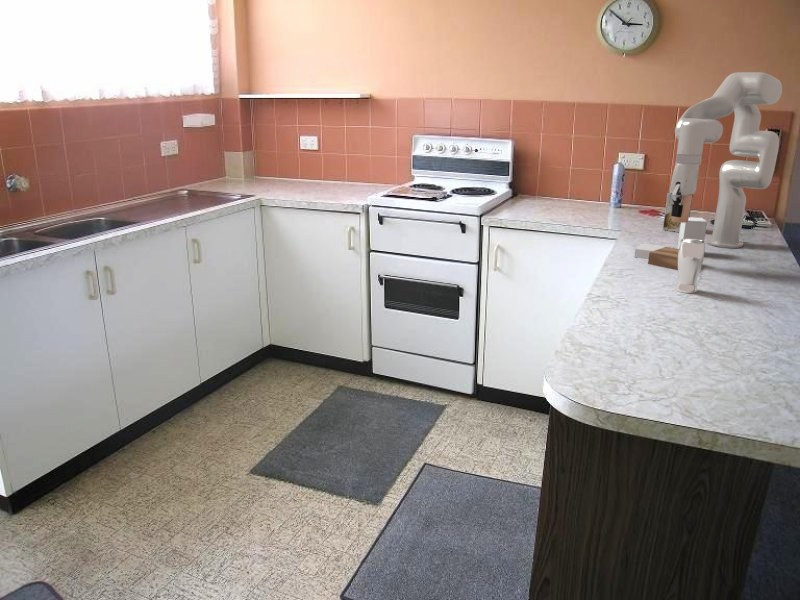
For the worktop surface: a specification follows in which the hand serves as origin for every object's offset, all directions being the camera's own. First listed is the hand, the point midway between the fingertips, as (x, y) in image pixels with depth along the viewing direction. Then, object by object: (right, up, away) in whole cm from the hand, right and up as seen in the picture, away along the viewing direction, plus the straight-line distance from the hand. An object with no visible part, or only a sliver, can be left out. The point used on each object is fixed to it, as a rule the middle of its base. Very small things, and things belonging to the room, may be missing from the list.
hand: (680, 215), depth 220 cm
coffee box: (+22, +1, +57) cm, 61 cm away
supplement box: (+12, -12, +20) cm, 26 cm away
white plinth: (-3, -13, +15) cm, 20 cm away
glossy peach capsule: (0, -2, +1) cm, 2 cm away
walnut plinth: (0, -16, +5) cm, 17 cm away
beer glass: (-8, -25, -23) cm, 35 cm away
